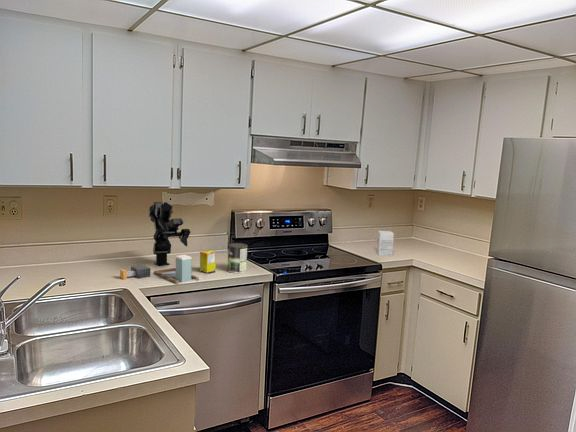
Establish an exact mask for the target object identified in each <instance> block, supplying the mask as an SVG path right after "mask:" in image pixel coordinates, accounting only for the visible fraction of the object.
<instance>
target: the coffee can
mask: <svg viewBox="0 0 576 432" xmlns="http://www.w3.org/2000/svg"><path fill="white" fill-rule="evenodd" d="M247 257H248V244H246V243H242V242H233V243H229V244H227V272H228V273H232V274H244V273H246V272H247V264H248V263H247V261H248V258H247Z"/></svg>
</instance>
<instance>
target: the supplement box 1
mask: <svg viewBox="0 0 576 432" xmlns="http://www.w3.org/2000/svg"><path fill="white" fill-rule="evenodd" d="M216 254H217V253H216V251H214V250H210V249H208V250H207V249H206V250H201V251H199V273H204V274H205V275H206V274H207V275H208V274H211V273H216V268H217V267H216V266H217V265H216V262H217V261H216Z"/></svg>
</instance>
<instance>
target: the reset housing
mask: <svg viewBox="0 0 576 432" xmlns="http://www.w3.org/2000/svg"><path fill="white" fill-rule="evenodd" d="M134 270H135V271H136V275H135V278H137V279H144V278H150V277H151V268H150V267H149V266H146V265H144V264H136V265H130V271H134Z"/></svg>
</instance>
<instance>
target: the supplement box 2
mask: <svg viewBox="0 0 576 432" xmlns="http://www.w3.org/2000/svg"><path fill="white" fill-rule="evenodd" d="M377 231H378V232H377V244H376V245H377V246H376V253H377V255H378V256H379V257H380V256H381V257H382V256H383V257H393V251H394V239H395V238H394V237H395V233H394V232H393V231H392V230H377Z"/></svg>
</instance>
